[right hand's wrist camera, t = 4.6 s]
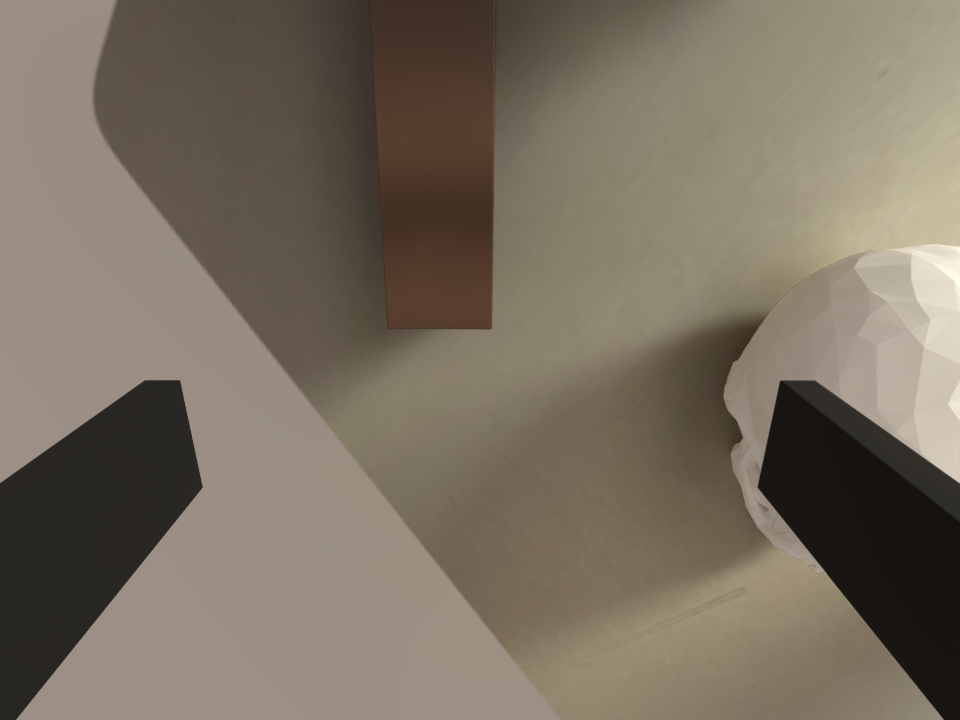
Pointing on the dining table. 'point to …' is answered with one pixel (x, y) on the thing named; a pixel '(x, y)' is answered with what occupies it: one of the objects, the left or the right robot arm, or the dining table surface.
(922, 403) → the skull
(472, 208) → the walnut plank
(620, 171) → the dining table surface
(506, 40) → the dining table surface
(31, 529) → the right robot arm
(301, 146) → the dining table surface
